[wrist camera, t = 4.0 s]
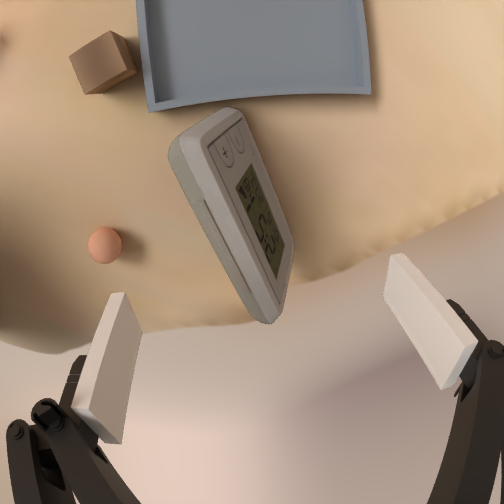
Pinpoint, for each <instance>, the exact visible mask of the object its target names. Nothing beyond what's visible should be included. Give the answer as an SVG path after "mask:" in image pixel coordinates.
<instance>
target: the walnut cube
mask: <svg viewBox="0 0 504 504" xmlns="http://www.w3.org/2000/svg"><path fill="white" fill-rule="evenodd" d="M69 58H70V61H71V63H72V65H73V68H74V70H75V73H76V75H77V78H78V80H79V82H80V85H81V87H82V89H83V92H84V94H85V95H86V94H101V93H103V92H105V91H106V90H108V89H110V88H111V87H113V86H115V85H117V84H118V83H120V82H122V81H124V80H126V79H127V78H129V77H131V76H133V75H135V74H137V73H139V71H138V69H137V67H136V64H135V62H134V60H133V58H132V55H131V53H130V51H129V48H128V46H127V44H126V42H125V39H124V37H122V36H120V35H118V34H116V33H114V32H112V31H108V32H106V33H105V34H103V35H101V36H100V37H98V38H96V39H95V40H93V41H91V42H90V43H88V44H87V45H85V46H84V47H82V48H81V49H79V50H78V51H76V52H75V53H73V54H72V55H70V56H69Z"/></svg>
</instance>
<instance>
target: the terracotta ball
mask: <svg viewBox="0 0 504 504" xmlns="http://www.w3.org/2000/svg"><path fill="white" fill-rule="evenodd" d="M121 249H122V242H121V239H120V237H119V235H118V234H117V232H115V231H114V230H112V229H110V228H99V229H97V230H96V231H94V232H93V233H92V234H91V236H90V238H89V240H88V251H89V254H90V256H91V257H92V258H93V259H94V260H95V261H97V262H99V263H102V264H107V263H111V262H113V261H114V260H116V259H117V258H118V256H119V255H120V252H121Z"/></svg>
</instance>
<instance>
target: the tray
mask: <svg viewBox="0 0 504 504" xmlns="http://www.w3.org/2000/svg"><path fill="white" fill-rule="evenodd" d="M136 9H137V21H138V33H139V43H140V52H141V61H142V69H143V77H144V85H145V92H146V99H147V106H148V113H150V112H155V111H160V110H165V109H170V108H175V107H181V106H186V105H193V104H199V103H205V102H212V101H220V100H228V99H237V98H246V97H257V96H270V95H287V94H320V93H338V94H370V95H371V76H370V61H369V50H368V39H367V30H366V22H365V14H364V7H363V0H136Z"/></svg>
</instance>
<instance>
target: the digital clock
mask: <svg viewBox="0 0 504 504" xmlns="http://www.w3.org/2000/svg"><path fill="white" fill-rule="evenodd" d="M168 159H169V162H170V165H171V167H172V169H173V171H174V173H175V175H176V177H177V179H178V181H179V183H180V185H181V187H182V189H183V191H184V193H185V195H186V197H187V199H188V201H189V203H190V205H191V207H192V209H193V211H194V213H195V215H196V216H197V218H198V220H199V222H200V224H201V226H202V228H203V230H204V232H205V234H206V235H207V237H208V239H209V241H210V243H211V245H212V247H213V249H214V250H215V252H216V254H217V256H218V258H219V260H220V262H221V263H222V265H223V267H224V269H225V271H226V273H227V274H228V276H229V278H230V280H231V282H232V284H233V285H234V287H235V289H236V291H237V293H238V294H239V296H240V298H241V300H242V302H243V303H244V305H245V307H246V308H247V310H248V312H249V313H250V315H251V316H252V317H253V318H254V319H256V320H257V321H259V322H261V323H264V324H272V323H273V322H274V321H275V320H276V319H277V318H278V317H279V316H280V314H281V313H282V310H283V307H284V302H285V297H286V292H287V287H288V282H289V277H290V272H291V267H292V261H293V256H294V250H295V244H294V240H293V237H292V234H291V232H290V229H289V226H288V223H287V221H286V218H285V216H284V213H283V210H282V208H281V205H280V203H279V200H278V197H277V195H276V192H275V190H274V187H273V185H272V182H271V180H270V177H269V175H268V172H267V170H266V167H265V165H264V162H263V160H262V157H261V155H260V152H259V150H258V148H257V145H256V143H255V140H254V138H253V136H252V133H251V131H250V128H249V126H248V124H247V122H246V119H245V117H244V115H243V113H242V112H241V111H240V110H238V109H235V108H232V107H225V108H222V109H221V110H219V111H217V112H215V113H214V114H212V115H210V116H208V117H207V118H205V119H203V120H202V121H200V122H198V123H197V124H195V125H193V126H192V127H190V128H189V129H187V130H185V131H184V132H182V133H181V134H180V135H179V136H178V137H176V138H175V139H174V140H173V142H172V143H171V146H170V148H169V152H168Z"/></svg>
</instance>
